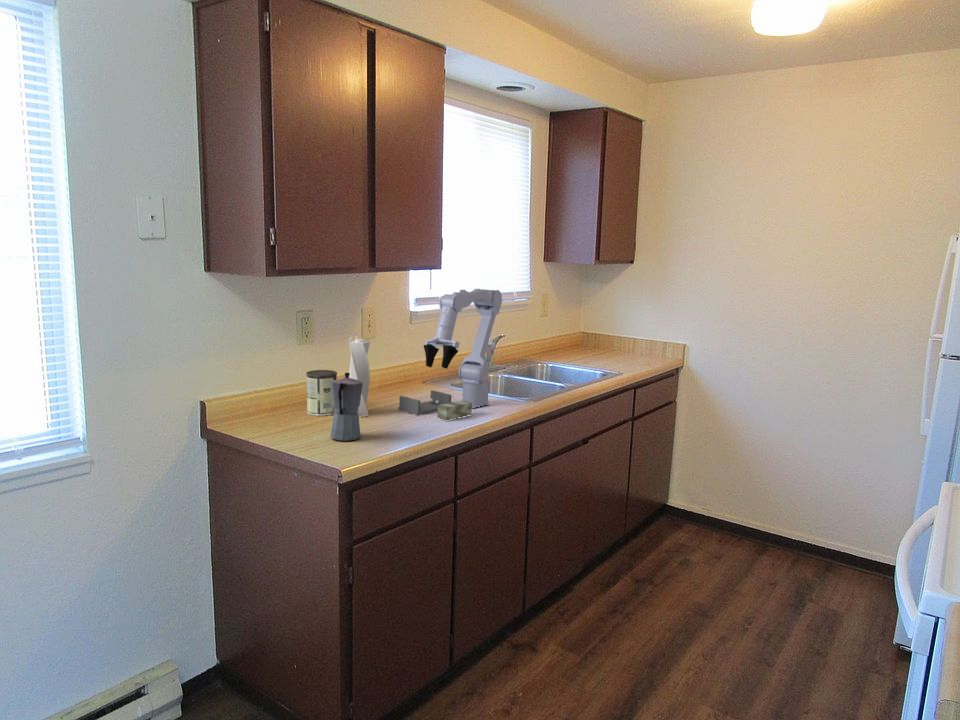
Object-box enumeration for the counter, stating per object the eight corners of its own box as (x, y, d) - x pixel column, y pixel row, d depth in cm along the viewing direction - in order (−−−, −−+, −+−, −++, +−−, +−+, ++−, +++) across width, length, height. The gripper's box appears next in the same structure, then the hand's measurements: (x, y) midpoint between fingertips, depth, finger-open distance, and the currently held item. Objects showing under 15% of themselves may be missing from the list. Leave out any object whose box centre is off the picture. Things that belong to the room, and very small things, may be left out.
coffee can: (321, 407, 237) (321, 368, 235) (343, 411, 232) (343, 372, 230) (300, 413, 229) (299, 372, 226) (322, 417, 224) (322, 376, 221)
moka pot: (365, 431, 209) (365, 369, 205) (358, 446, 194) (358, 379, 190) (334, 431, 208) (334, 368, 205) (325, 445, 193) (324, 378, 190)
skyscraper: (343, 413, 231) (343, 333, 227) (365, 411, 235) (366, 332, 230) (350, 419, 224) (350, 336, 219) (373, 417, 228) (374, 336, 223)
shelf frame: (433, 403, 250) (433, 390, 249) (452, 408, 243) (452, 394, 242) (398, 410, 237) (398, 396, 236) (416, 415, 231) (417, 401, 230)
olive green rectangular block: (462, 413, 236) (462, 400, 235) (471, 416, 233) (471, 402, 232) (437, 419, 227) (437, 405, 226) (446, 422, 224) (446, 407, 223)
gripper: (422, 324, 227) (413, 363, 225) (452, 325, 218) (443, 365, 215) (436, 330, 232) (427, 368, 230) (466, 331, 223) (457, 370, 220)
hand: (436, 367), depth 223 cm, fingers open, 7 cm apart
